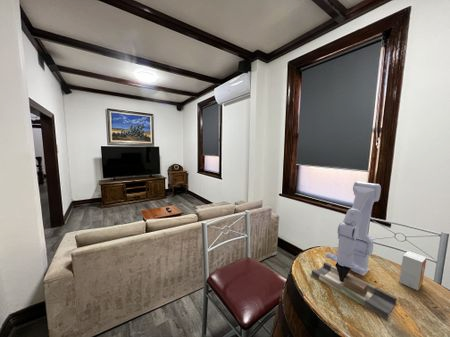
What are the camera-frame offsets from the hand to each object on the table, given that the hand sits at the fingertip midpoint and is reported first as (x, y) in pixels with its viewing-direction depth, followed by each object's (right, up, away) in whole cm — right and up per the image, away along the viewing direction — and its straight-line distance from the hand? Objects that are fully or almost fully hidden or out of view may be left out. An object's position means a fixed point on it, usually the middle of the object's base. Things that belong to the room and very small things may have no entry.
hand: (342, 280), depth 80 cm
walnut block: (+3, -2, -4) cm, 5 cm away
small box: (+33, -3, +3) cm, 34 cm away
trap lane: (+2, -2, -2) cm, 4 cm away
